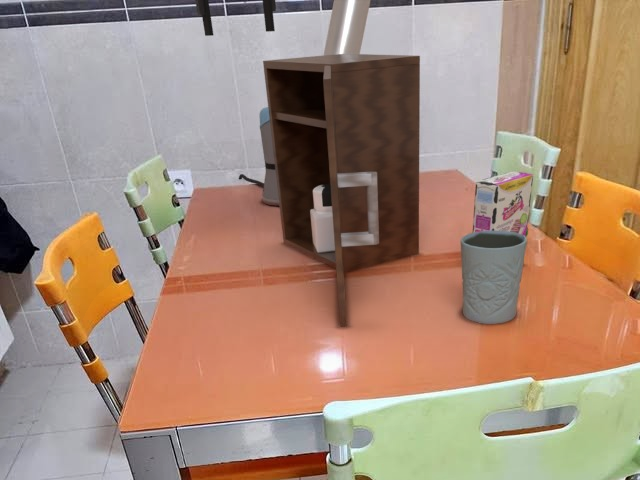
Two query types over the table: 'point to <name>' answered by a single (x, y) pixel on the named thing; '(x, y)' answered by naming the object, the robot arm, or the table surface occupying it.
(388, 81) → the cupboard
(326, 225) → the medicine bottle
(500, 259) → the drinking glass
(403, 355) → the table surface
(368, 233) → the cupboard door
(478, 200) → the food carton
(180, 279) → the table surface
